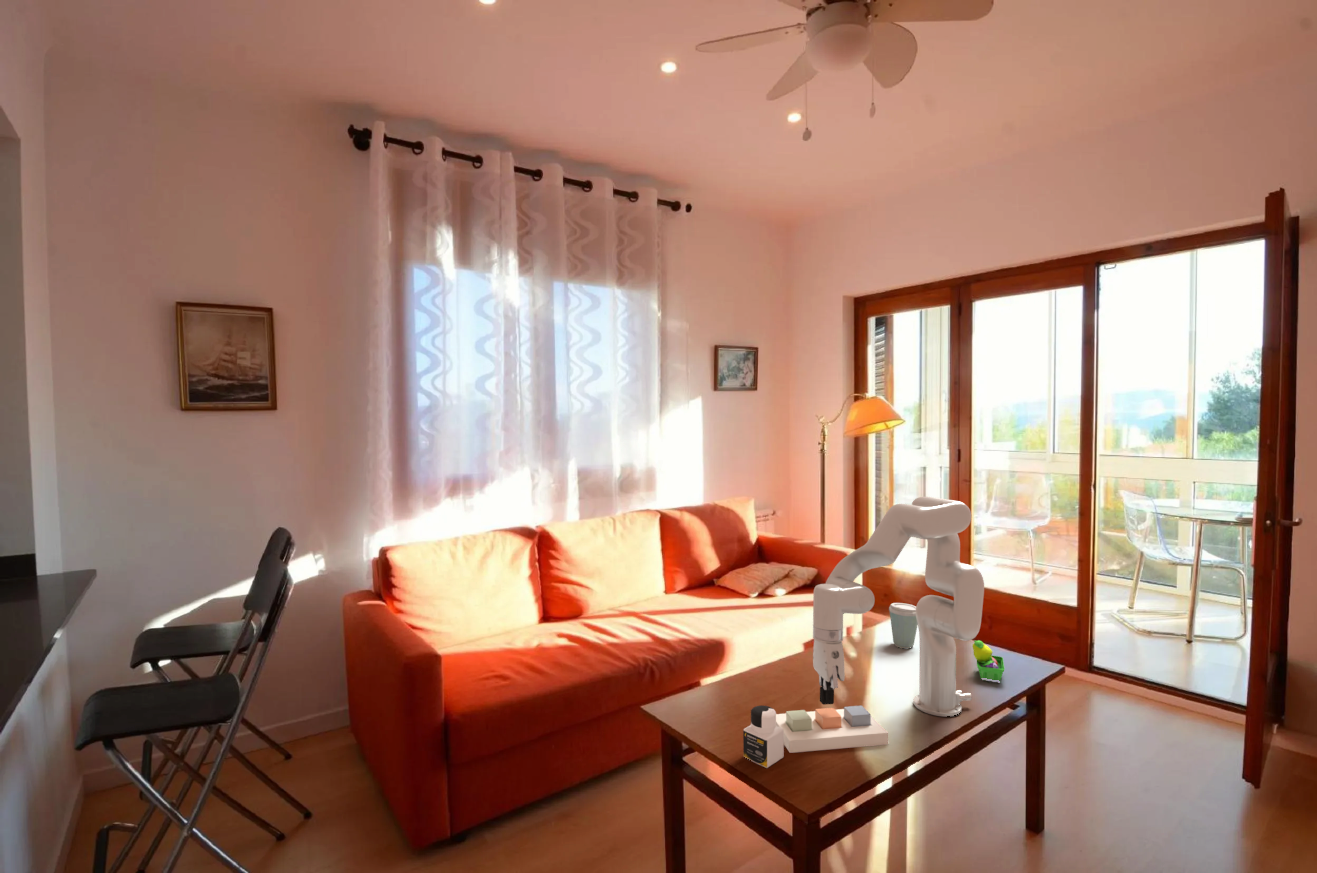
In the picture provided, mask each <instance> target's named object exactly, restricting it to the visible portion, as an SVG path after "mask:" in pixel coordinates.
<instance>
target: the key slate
mask: <svg viewBox="0 0 1317 873" xmlns="http://www.w3.org/2000/svg"><path fill="white" fill-rule="evenodd" d="M843 709H844V719H845V720H846V721H847V722H848V723H849V725H850V726H851V727H858V726H870V725H871V716H872V715H871V713H870V712H869V711H868V710H867V709H866V708H865V707H864V706H863V705H850V706H843Z"/></svg>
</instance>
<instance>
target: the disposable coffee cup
mask: <svg viewBox="0 0 1317 873" xmlns="http://www.w3.org/2000/svg"><path fill="white" fill-rule="evenodd" d="M916 606H917V605H916ZM916 606H915V605H913V604H909V603H903V602H893V603H891V604H890V605H889V607H888V611H889V617H890V625H891V633H892V642H893V644H894V646H895V647H897V648H898V647H901V648H900V649H902V648H910V647H912V648H913V647H914V644H915V641H916V640H915V639H916V634H917V631H918V630H917V629H918V623H917V618H916Z"/></svg>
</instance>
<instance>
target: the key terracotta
mask: <svg viewBox="0 0 1317 873" xmlns="http://www.w3.org/2000/svg"><path fill="white" fill-rule="evenodd" d="M836 710H837V709H835V708H834V707H826V708H825V707H824V708H815V710H814V711H815V721H816V722H817V724H818V725H819V726H820V727H821V729H833V728H841V716H840V714H839V713H838V712H837V711H836Z"/></svg>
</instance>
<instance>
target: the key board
mask: <svg viewBox="0 0 1317 873" xmlns="http://www.w3.org/2000/svg"><path fill="white" fill-rule="evenodd" d="M835 710H836V711H837V712H838V713H839V714H840V716H841V728H833V729H821V727H820V726H819V725H818V724H817V722H816V721H815V710H813V711H812V710H811V711H806V712H807V714H808V715H809V716H810V717H811V719H812V730H809V731H796V732H792V731H791V729H790V728H789V727H788V725H787V724H786V712H785V713H776V726H777V727H780V728H782V729H783V730H784V748H786V749H787V751H788V752H789V753H793V754H794V753H804V752H814V751H827V750H839V749H848V748H849V749H851V748H860V747H861V748H862V747H873V746H885V745H889V731H887V730H886V729H885V727H883V726H882V725H881V724H880V723H879V722H878V721H877V720H876V719H875V718H874V717H873V716H872V715H871V725H870V726H858V727H851V726H850V725H849V723H848V722H847V721H846V720H845V719H844V708H839V709H835Z"/></svg>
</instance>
